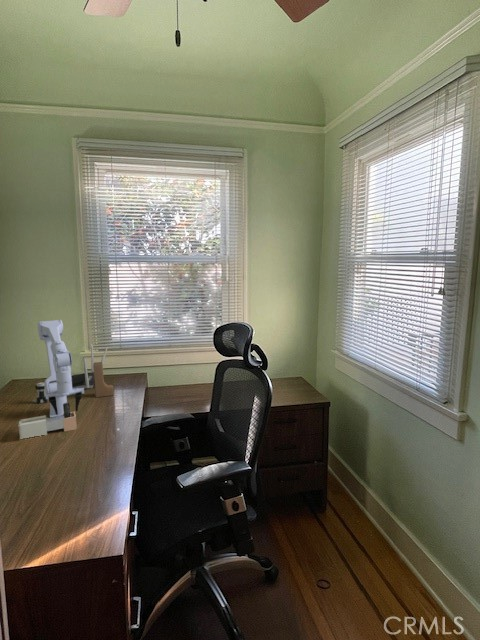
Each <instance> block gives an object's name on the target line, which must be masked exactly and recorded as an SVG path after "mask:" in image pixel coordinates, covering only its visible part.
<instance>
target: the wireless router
mask: <svg viewBox="0 0 480 640" xmlns="http://www.w3.org/2000/svg"><path fill="white" fill-rule="evenodd" d="M108 349H109V347H108V346H107V347H106V348H105V350H104V353H103V355H102V356H101V360H100V362H102V363H103V365H104V364H105V359H106V355H107V352H108ZM90 357H91V358H90V359H91V360H90V363H91V365H90V367H91V369H90V370H91V372H88V368H87V360H86V357H85V356H83V357H82V358H83V359H82V361H83V368H84V370H83V371H84V372H83V373H80V374H79V373H78V374H73V375H72V374H71V378H72V389H74V388H84V390H85V389H93V388H94V387H95V383H94V369H93V363H95V360H94V357H95V356H94V346H93V343H91V344H90Z"/></svg>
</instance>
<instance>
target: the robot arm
mask: <svg viewBox="0 0 480 640" xmlns="http://www.w3.org/2000/svg"><path fill="white" fill-rule="evenodd" d="M37 330H38V331H37V332H38V337H39V340H42V341H44V343H45V348H46V355H47V362H48V369H49V376H47V378H46V379H45V380H44V383H45V394H46V399H48V402H49V418H53V417H58V416H63V414H64V409H63V404H64V403H68V397H67V396H72V395H74V397H75V398H74V399H75V400H74V401H75V412H78V410H79V405H80V402H81V399H82V395H83V394H85V389H84V388H74V389H72V378H71V376H72V368H71V366H73V365H72V364H73V359H72V354H71V352H70V351H69V350H68V349H67V346H66V343H65V342H64V341H63V340H62V336H63V332H64V324H63V320H62V319H55V320H44V321H41V320H39V321H38V322H37Z"/></svg>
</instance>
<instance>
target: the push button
mask: <svg viewBox="0 0 480 640" xmlns="http://www.w3.org/2000/svg"><path fill="white" fill-rule="evenodd" d="M44 382H45V381H44ZM44 382H38V383H36V384H35V385H34V387H35V390H36V392H37V397H36V399H34V400H33V402H35V403H36V404H45V403H48V402H49V399H46V394H45V383H44Z"/></svg>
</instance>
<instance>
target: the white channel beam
mask: <svg viewBox="0 0 480 640" xmlns="http://www.w3.org/2000/svg"><path fill="white" fill-rule="evenodd" d="M46 419H47V415H40V416H34V417H29V418H23V419H19V422H18V432H19V433H18V434H19V440H20V439H23V438H29V437H34V436H40V437H42V436H41V435H45V436H48V431H47V429H46Z"/></svg>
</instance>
